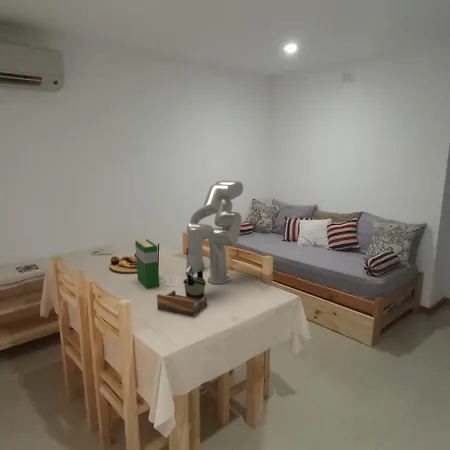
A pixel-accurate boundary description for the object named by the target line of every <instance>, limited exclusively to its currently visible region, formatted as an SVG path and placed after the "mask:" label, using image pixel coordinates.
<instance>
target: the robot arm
mask: <svg viewBox="0 0 450 450" xmlns="http://www.w3.org/2000/svg"><path fill="white" fill-rule="evenodd" d="M243 192H244V186H243V183H242V181H240V180H239V181H238V180H219V181H216V182H215V183H214V184H212V185H211V186H210V187H209V189H208V193H207V194H206V198H205V201H204V202H203V205H202V207H200V208H198V209H197V210H196V211H195V212H193V214H192V215H191V217H190V218H189V220H188V221H189V222H188V224H187V226H186V235H187V248H188V256H187V255H186V264H185V266H186V270H185V276H186V279H187V278H188V285H190V286H194V278H193V277H194V275H195V274H197V275H196V277H199V278H203V279H204V269H205V263H204V259H203V258H204V256H203V240H208V245H209V267H210V268H209V270H210V271H209V273H210V274H209V275H210V276H209V277H208V278H207V282H208V283H210V284H212V285H223V284H227V283H229V281H230V278H229V277H228V276H227V275H228V273H229V270H228V269H227V250H226V248H225V247H234V246H236V245H237V243H238V240H239V237H240V231H241V228H242V227H241V226H242V220H243V218H242V215H241V213H239V212H237V211H232V208H233V202H232V200H234V199H236V198H238V197H240V196H241V195H242V194H243ZM213 215H215V216H214V225H215V226H216V228H214V227H213V226H211V225H210V224H205V223H200V221H201V220H204V219H205V218H207V217H210V216H213ZM217 227H218V228H217Z"/></svg>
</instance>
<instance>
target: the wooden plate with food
mask: <svg viewBox="0 0 450 450" xmlns="http://www.w3.org/2000/svg"><path fill="white" fill-rule="evenodd" d="M109 270H110V271H112V272H113V273H117V274H121V275H133V274H135V275H136V274H137V260H136V252H135V253H134V255H133V256H132V255H131V256H130V255H129V256H127V255H125V256H123V257H122V256H121V257H118V256H117V255H113V256H111V258H110V264H109Z"/></svg>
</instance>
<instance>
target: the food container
mask: <svg viewBox="0 0 450 450" xmlns="http://www.w3.org/2000/svg"><path fill="white" fill-rule="evenodd" d="M193 278H194V286H190V285H188V278H187V277H186V279H183V283H182V284H183V285H184V290H185V297H191V298H196V299H202V298H203V297H204V296H205V287H206V286H207V281H206V280H205V278H204V277H203V278H199V277H197V276H195V277H194V276H193Z"/></svg>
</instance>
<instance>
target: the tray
mask: <svg viewBox="0 0 450 450" xmlns="http://www.w3.org/2000/svg"><path fill="white" fill-rule="evenodd" d="M156 304H157V310H160V311H164V312H168V313H173V314H178V315H182V316H185V317H186V316H187V317H192V318H193V317H195V316H197V315H198V313H200V312H201V311H203V309H204V308H206V307H207V306H208V297H207V296H205V295H204V297H203V298H202V299H196V298H191V297H186V295H180V294H176V290H172V291H170V292H169V293H167V294H163V293H158V294H157V295H156Z"/></svg>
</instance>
